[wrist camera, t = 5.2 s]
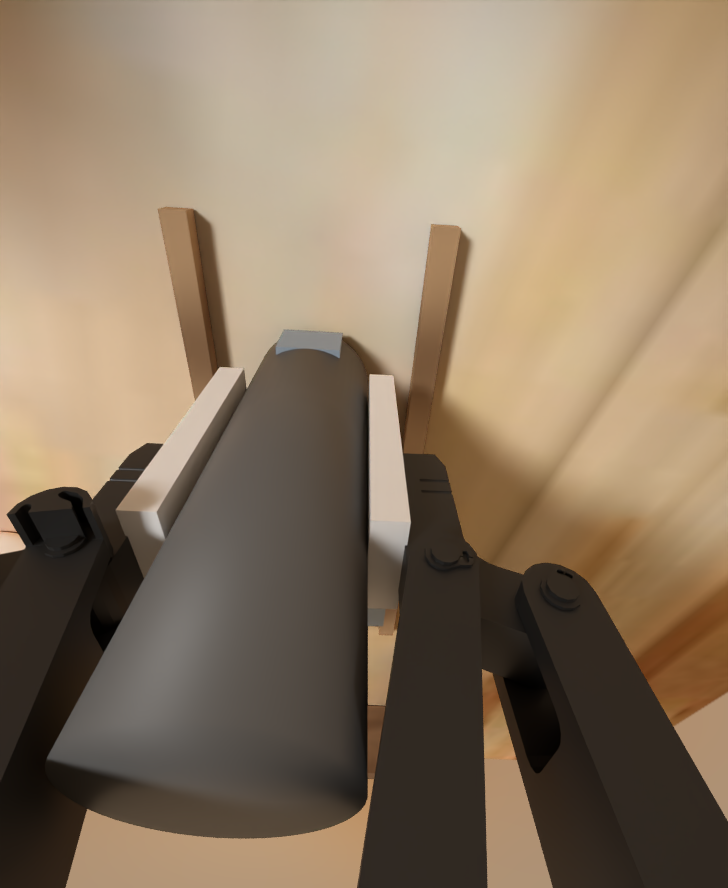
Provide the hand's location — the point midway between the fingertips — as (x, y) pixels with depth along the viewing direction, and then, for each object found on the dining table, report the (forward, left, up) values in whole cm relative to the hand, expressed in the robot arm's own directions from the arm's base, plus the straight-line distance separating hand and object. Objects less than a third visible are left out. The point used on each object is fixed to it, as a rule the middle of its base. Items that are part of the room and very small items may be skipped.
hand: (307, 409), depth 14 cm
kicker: (+3, 0, -2) cm, 3 cm away
